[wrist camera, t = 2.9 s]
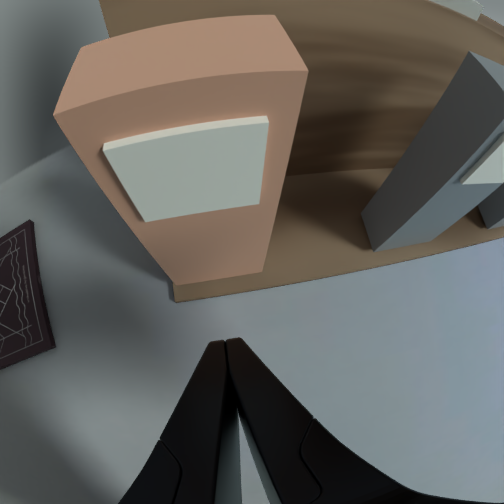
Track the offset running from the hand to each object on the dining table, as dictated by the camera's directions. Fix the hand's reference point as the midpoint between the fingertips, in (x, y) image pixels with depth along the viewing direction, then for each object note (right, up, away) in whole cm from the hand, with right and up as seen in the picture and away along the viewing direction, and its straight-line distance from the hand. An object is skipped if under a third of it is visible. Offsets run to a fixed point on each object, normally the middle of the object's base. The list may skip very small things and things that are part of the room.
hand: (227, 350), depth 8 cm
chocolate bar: (-21, -3, +7) cm, 22 cm away
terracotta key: (-1, +2, +9) cm, 9 cm away
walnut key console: (+9, +6, +11) cm, 15 cm away
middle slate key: (+10, +4, +9) cm, 14 cm away
